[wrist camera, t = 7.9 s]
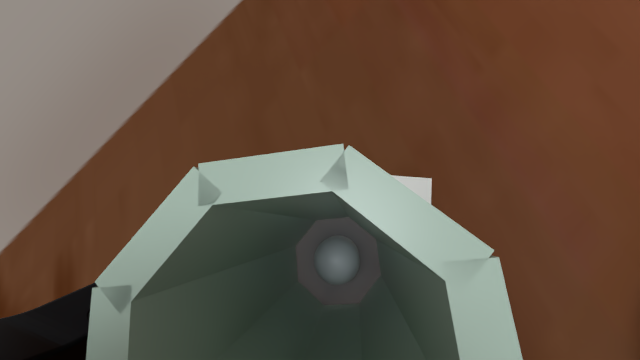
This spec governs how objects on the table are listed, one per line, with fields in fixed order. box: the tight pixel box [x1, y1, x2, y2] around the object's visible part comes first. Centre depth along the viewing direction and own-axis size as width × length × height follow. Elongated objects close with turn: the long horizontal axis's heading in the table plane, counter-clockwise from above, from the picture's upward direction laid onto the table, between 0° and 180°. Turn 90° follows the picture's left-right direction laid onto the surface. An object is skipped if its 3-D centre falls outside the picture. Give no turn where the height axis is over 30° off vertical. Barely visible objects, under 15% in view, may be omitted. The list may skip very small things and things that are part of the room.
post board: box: [296, 176, 432, 305], centre depth 16 cm, size 12×12×5 cm
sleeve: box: [86, 144, 523, 360], centre depth 10 cm, size 7×7×12 cm
